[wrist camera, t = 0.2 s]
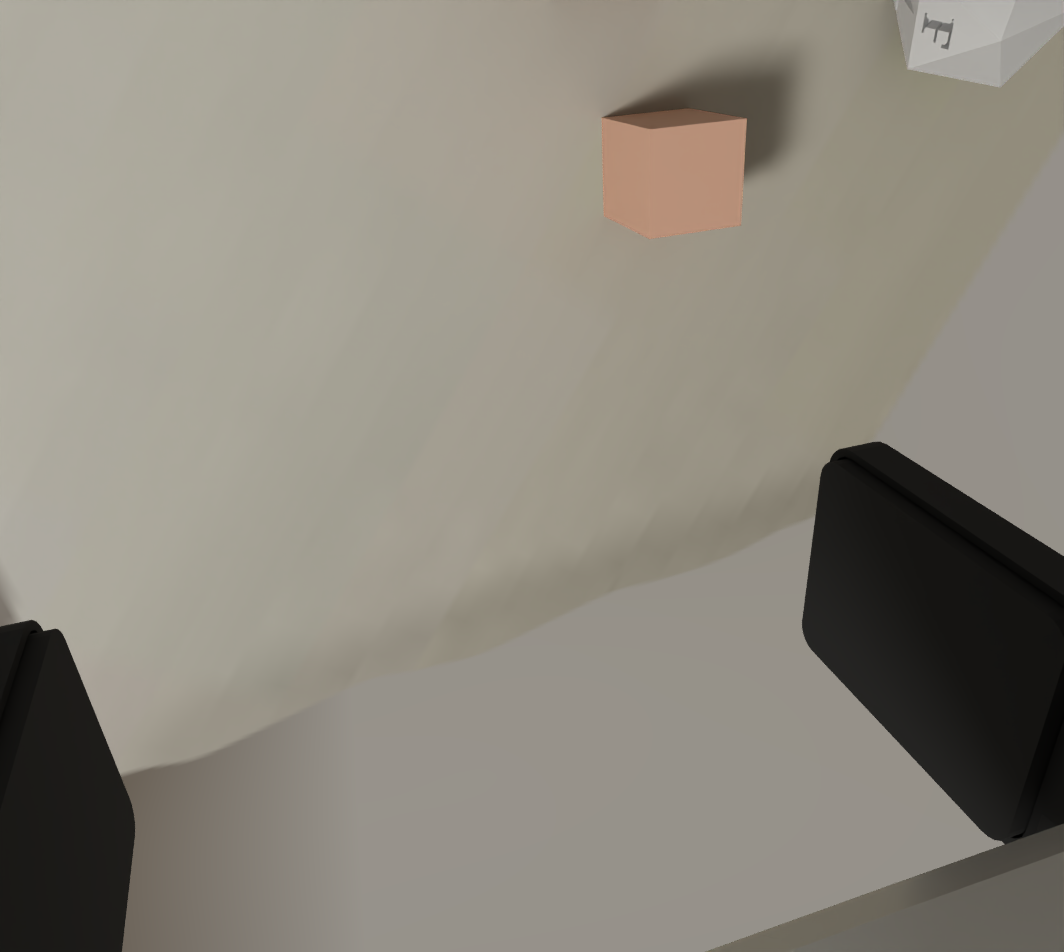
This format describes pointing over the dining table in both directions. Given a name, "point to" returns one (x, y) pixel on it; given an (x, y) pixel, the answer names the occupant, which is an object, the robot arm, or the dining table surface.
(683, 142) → the block terracotta
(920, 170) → the dining table surface
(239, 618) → the dining table surface
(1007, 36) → the die
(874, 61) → the dining table surface
